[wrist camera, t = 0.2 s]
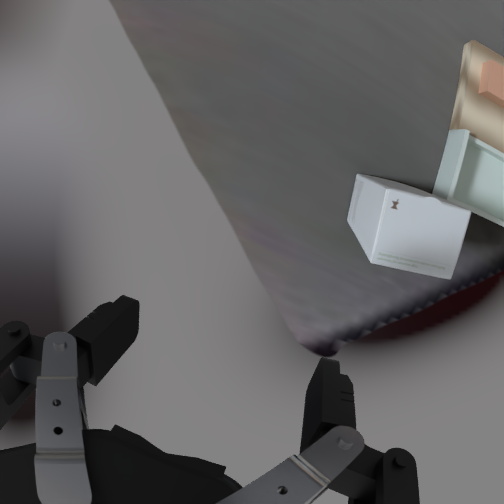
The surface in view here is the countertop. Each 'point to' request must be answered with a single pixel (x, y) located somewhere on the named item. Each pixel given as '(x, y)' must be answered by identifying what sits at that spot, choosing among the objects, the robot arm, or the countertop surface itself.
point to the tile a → (492, 82)
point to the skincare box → (407, 226)
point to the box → (472, 176)
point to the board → (477, 99)
